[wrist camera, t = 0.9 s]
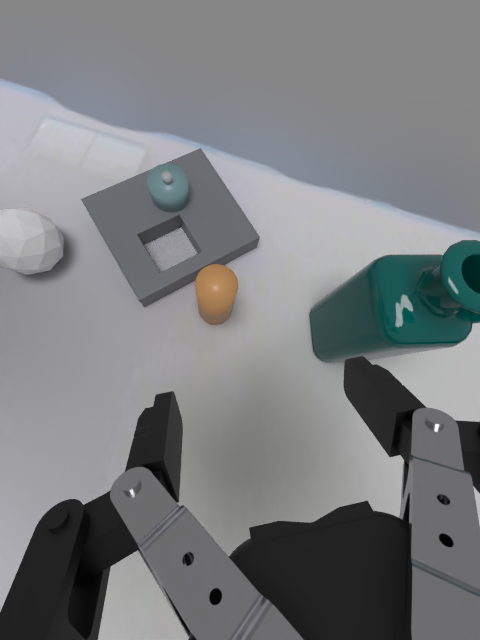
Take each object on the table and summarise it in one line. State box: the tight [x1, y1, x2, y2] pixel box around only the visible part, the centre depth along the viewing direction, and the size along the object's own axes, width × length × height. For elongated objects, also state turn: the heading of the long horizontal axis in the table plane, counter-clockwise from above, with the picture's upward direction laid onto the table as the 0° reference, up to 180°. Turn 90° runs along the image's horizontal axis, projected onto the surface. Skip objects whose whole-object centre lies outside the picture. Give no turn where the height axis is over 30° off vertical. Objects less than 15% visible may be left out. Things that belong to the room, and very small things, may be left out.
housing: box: [81, 148, 260, 307], centre depth 37 cm, size 18×16×7 cm
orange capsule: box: [195, 264, 238, 325], centre depth 34 cm, size 4×4×10 cm
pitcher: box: [310, 240, 480, 362], centre depth 29 cm, size 10×8×22 cm
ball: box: [0, 208, 63, 275], centre depth 34 cm, size 8×8×8 cm
